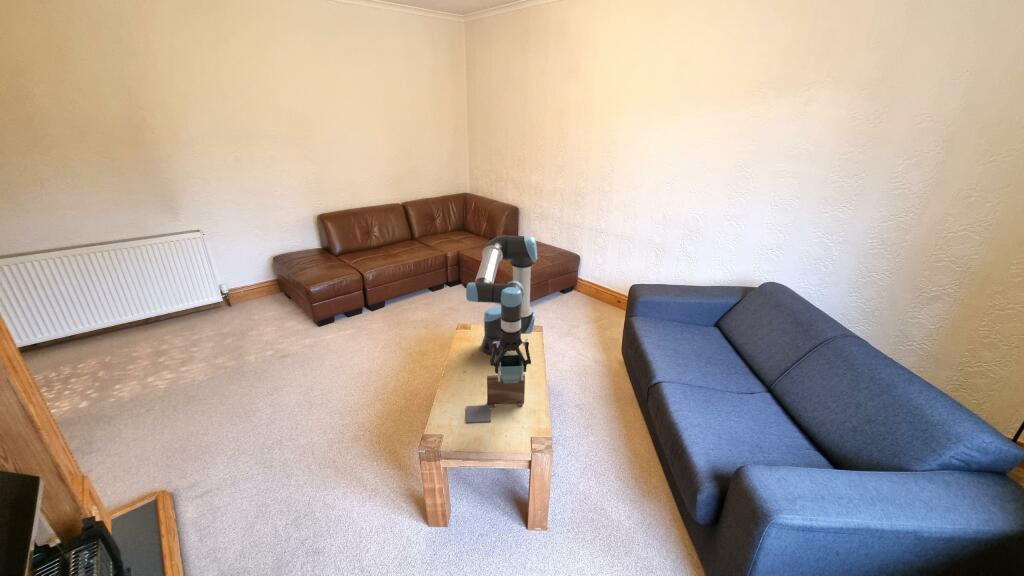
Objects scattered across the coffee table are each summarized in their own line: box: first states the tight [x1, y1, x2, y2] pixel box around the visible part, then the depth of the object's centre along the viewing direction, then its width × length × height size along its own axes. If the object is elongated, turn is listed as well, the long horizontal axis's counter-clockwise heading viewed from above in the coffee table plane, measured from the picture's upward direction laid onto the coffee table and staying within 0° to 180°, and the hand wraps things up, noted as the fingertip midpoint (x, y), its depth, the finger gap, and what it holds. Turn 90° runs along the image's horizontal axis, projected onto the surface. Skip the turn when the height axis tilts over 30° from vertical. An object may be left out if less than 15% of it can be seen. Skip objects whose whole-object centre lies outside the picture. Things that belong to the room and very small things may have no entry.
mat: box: [465, 404, 492, 424], centre depth 165 cm, size 10×10×1 cm
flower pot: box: [500, 353, 523, 383], centre depth 155 cm, size 9×9×9 cm
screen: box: [486, 373, 526, 409], centre depth 170 cm, size 6×16×14 cm, turn 95°
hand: (510, 378), depth 157 cm, fingers closed on flower pot, 8 cm apart
